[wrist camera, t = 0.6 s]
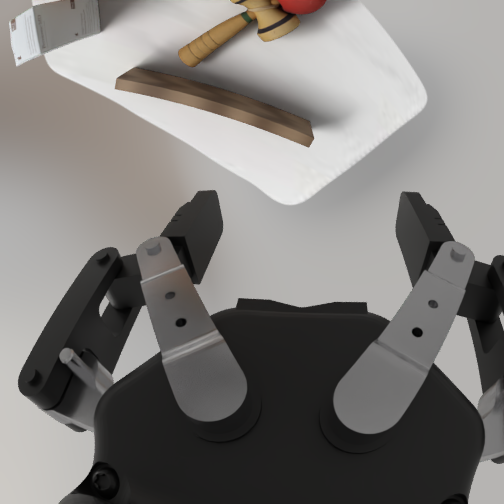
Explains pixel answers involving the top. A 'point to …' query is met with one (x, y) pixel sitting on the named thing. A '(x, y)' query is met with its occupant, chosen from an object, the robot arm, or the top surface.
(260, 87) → the top surface
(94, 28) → the skincare box
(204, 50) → the kendama
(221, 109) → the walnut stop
